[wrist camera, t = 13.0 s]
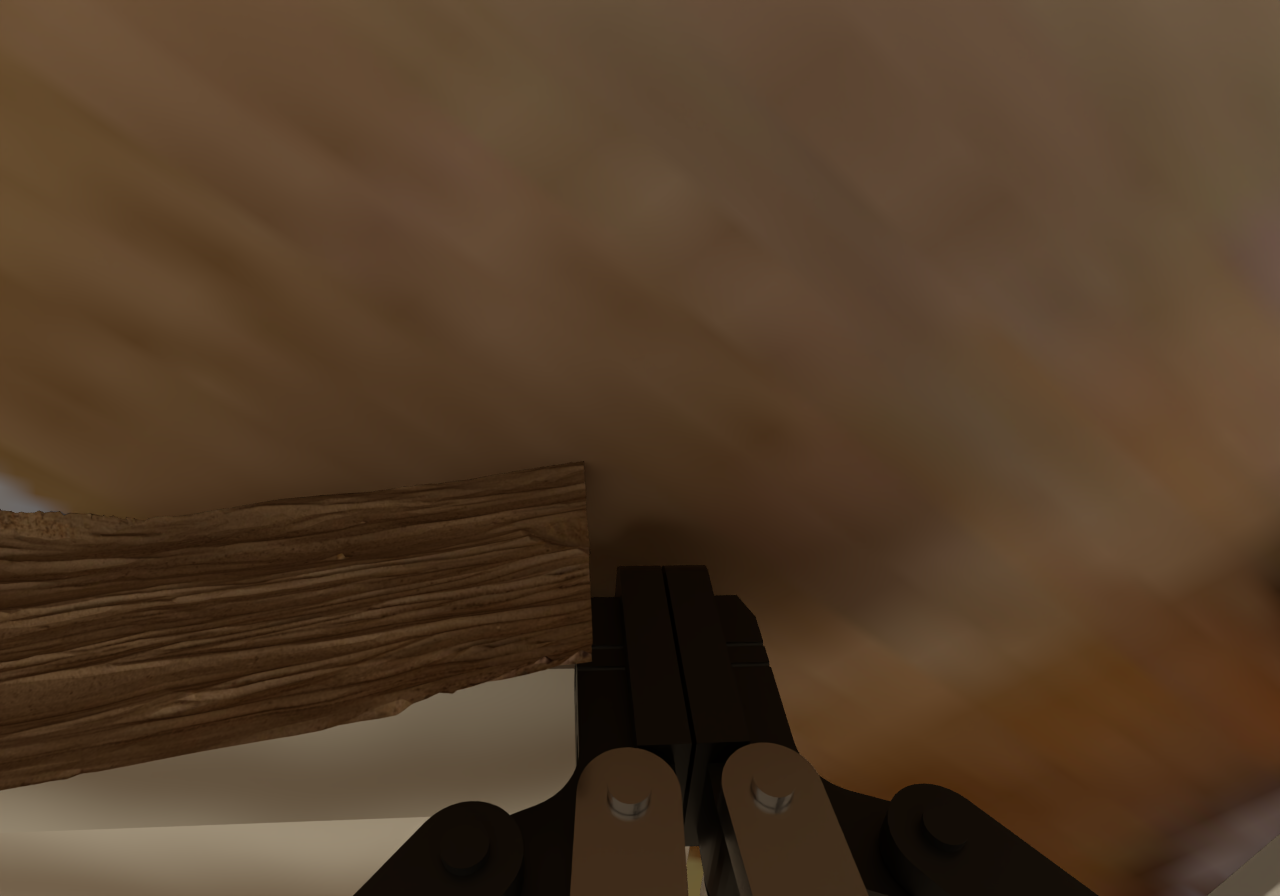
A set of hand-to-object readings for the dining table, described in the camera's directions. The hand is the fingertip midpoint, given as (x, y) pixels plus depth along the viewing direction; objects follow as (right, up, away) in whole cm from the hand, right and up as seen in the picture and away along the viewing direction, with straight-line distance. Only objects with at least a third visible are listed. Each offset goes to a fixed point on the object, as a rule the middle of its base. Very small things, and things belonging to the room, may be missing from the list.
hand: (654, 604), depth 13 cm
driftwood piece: (-9, +2, 0) cm, 9 cm away
